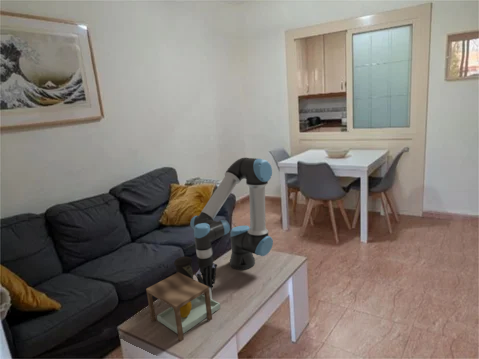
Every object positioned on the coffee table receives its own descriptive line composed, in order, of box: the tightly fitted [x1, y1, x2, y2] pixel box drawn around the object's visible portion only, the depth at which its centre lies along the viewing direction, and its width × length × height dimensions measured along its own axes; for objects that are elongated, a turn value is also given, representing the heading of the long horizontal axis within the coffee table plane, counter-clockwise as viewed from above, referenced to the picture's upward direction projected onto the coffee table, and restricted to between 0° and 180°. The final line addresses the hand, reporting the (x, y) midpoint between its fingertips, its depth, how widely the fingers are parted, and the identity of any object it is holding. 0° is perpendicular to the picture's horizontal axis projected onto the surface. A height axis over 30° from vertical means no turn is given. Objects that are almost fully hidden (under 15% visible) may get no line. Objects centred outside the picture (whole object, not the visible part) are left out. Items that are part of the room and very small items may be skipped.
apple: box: [173, 301, 192, 318], centre depth 153 cm, size 8×8×9 cm
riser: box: [145, 272, 213, 342], centre depth 151 cm, size 18×22×16 cm
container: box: [173, 256, 194, 279], centre depth 171 cm, size 9×9×20 cm
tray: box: [156, 294, 221, 335], centre depth 156 cm, size 24×17×2 cm
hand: (209, 299), depth 165 cm, fingers closed
